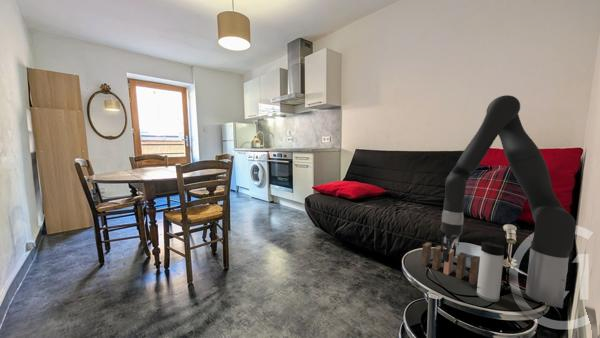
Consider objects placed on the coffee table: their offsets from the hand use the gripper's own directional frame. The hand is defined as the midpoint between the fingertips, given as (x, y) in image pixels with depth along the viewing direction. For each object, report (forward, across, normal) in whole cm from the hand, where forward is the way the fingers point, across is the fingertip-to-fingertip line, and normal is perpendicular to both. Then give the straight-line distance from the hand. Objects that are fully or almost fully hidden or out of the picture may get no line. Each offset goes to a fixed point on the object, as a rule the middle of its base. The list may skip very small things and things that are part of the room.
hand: (449, 258), depth 100 cm
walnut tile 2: (+6, 0, +4) cm, 8 cm away
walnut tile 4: (+6, 0, -9) cm, 11 cm away
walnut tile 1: (+6, 0, +9) cm, 11 cm away
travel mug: (+6, -8, -15) cm, 18 cm away
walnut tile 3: (+6, 0, -4) cm, 8 cm away
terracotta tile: (+6, 0, 0) cm, 6 cm away
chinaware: (+6, +15, -4) cm, 17 cm away
